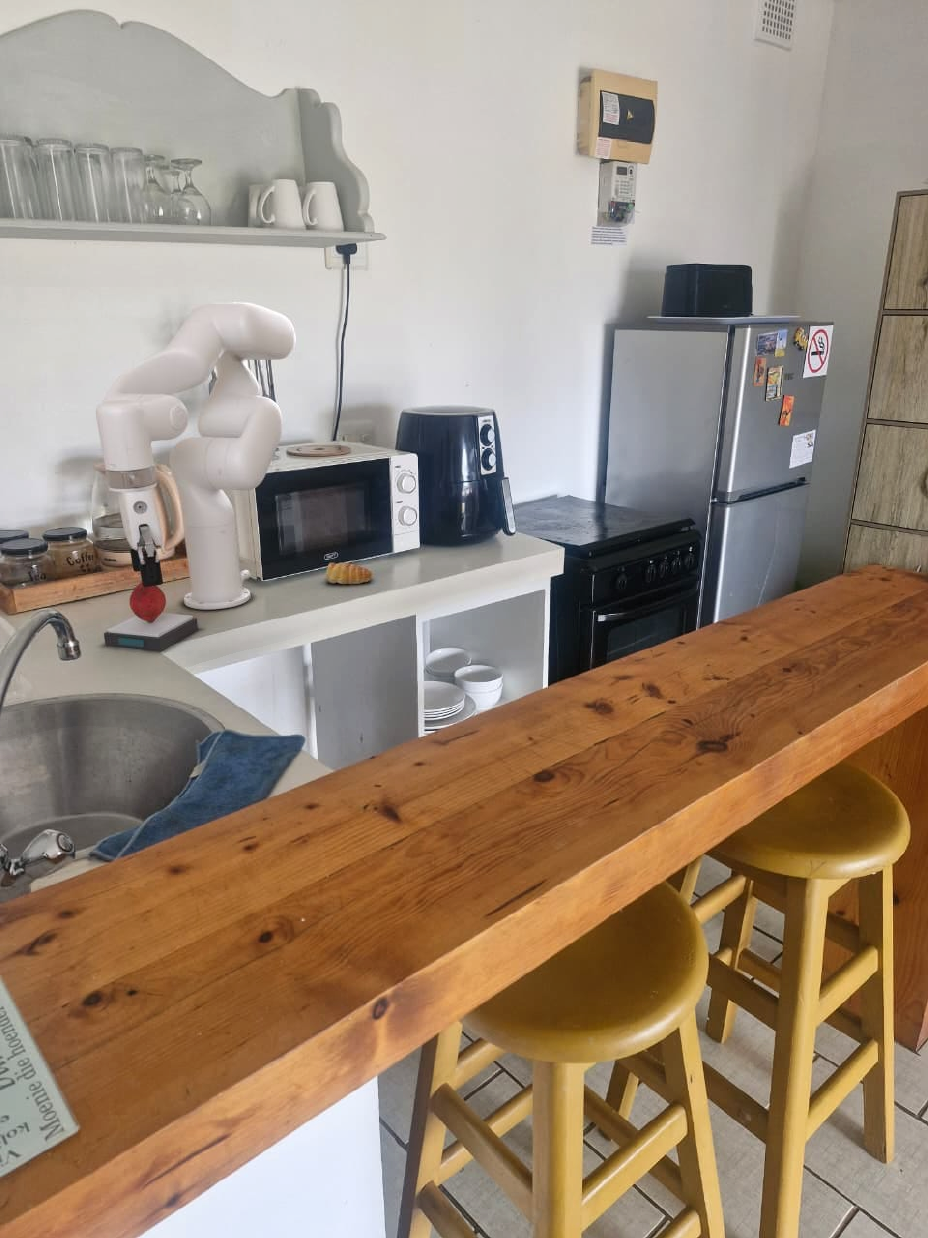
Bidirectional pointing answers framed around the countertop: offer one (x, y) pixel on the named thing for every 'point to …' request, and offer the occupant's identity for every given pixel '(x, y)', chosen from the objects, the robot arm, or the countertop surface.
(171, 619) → the scale
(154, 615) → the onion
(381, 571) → the countertop surface
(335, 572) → the pastry
